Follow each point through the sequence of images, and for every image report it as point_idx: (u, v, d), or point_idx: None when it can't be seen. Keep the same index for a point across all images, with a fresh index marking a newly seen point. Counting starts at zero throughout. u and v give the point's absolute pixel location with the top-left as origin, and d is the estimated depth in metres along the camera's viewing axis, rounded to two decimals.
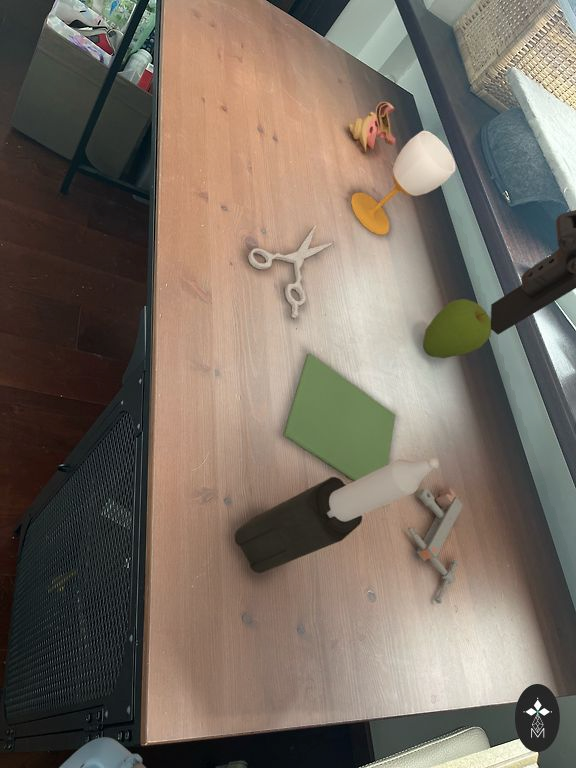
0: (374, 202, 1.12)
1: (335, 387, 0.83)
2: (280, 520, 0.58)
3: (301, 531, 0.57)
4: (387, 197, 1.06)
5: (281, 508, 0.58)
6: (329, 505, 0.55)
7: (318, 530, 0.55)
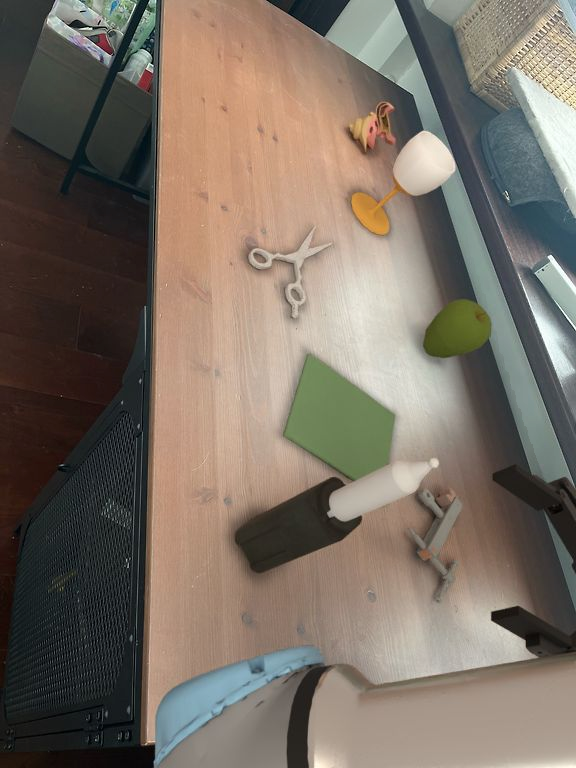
0: (374, 202, 1.12)
1: (335, 387, 0.83)
2: (280, 520, 0.58)
3: (301, 531, 0.57)
4: (387, 197, 1.06)
5: (281, 508, 0.58)
6: (329, 505, 0.55)
7: (318, 530, 0.55)
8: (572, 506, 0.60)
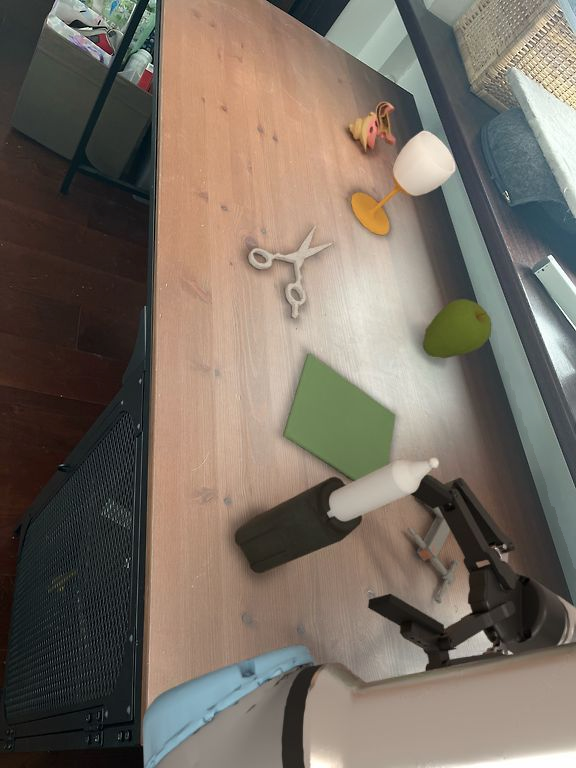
0: (374, 202, 1.12)
1: (335, 387, 0.83)
2: (280, 520, 0.58)
3: (301, 531, 0.57)
4: (387, 197, 1.06)
5: (281, 508, 0.58)
6: (329, 505, 0.55)
7: (318, 530, 0.55)
8: (463, 505, 0.64)
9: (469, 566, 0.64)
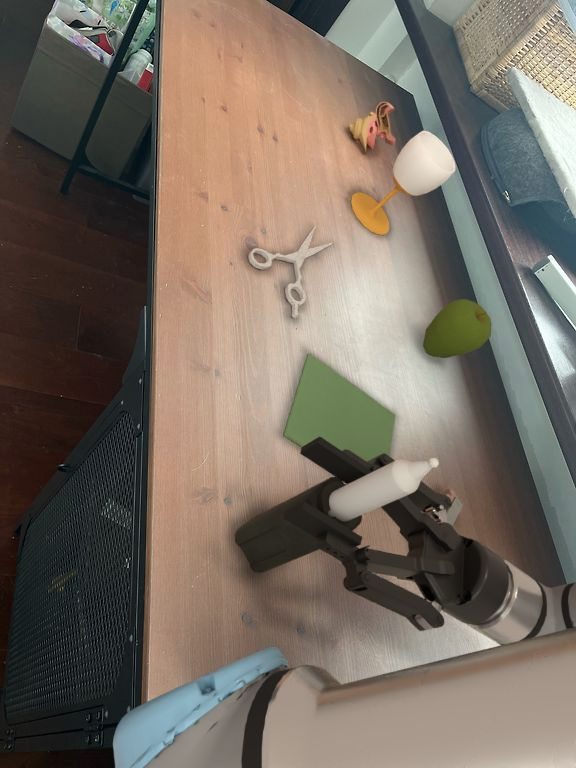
0: (374, 202, 1.12)
1: (335, 387, 0.83)
2: (280, 520, 0.58)
3: (301, 531, 0.57)
4: (387, 197, 1.06)
5: (281, 508, 0.58)
6: (329, 505, 0.55)
7: None
8: None
9: (406, 536, 0.60)
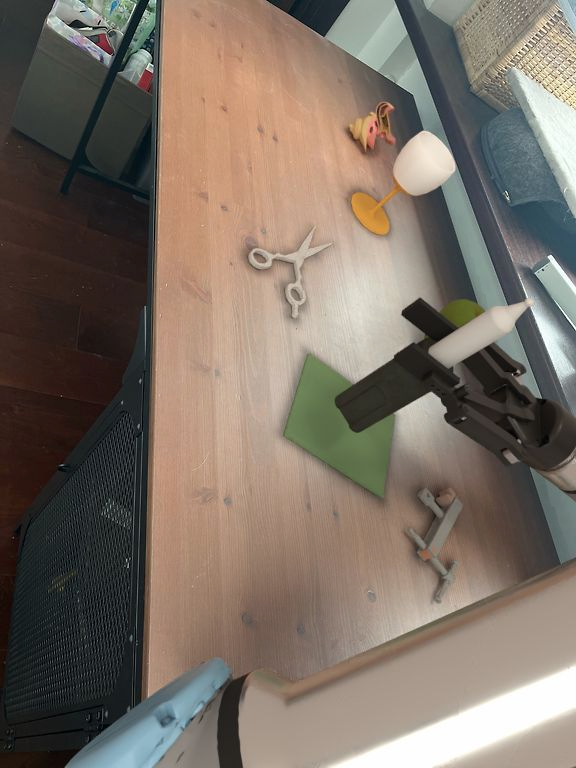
0: (374, 202, 1.12)
1: (335, 387, 0.83)
2: (382, 376, 0.67)
3: (402, 381, 0.65)
4: (387, 197, 1.06)
5: (382, 366, 0.67)
6: None
7: None
8: None
9: (489, 394, 0.69)
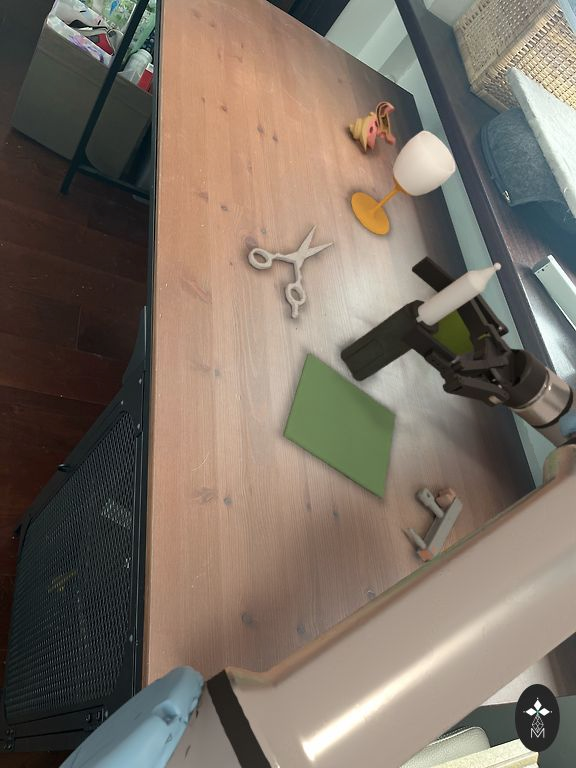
0: (374, 202, 1.12)
1: (335, 387, 0.83)
2: (380, 331, 0.81)
3: (396, 335, 0.80)
4: (387, 197, 1.06)
5: (380, 323, 0.82)
6: (418, 313, 0.79)
7: None
8: None
9: (473, 340, 0.84)
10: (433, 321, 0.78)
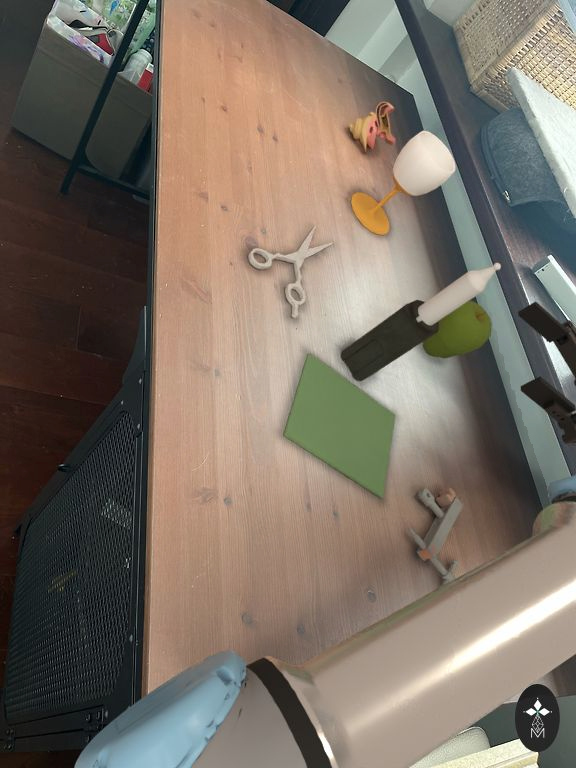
0: (374, 202, 1.12)
1: (335, 387, 0.83)
2: (380, 331, 0.81)
3: (396, 335, 0.80)
4: (387, 197, 1.06)
5: (380, 323, 0.82)
6: (418, 313, 0.79)
7: (410, 330, 0.79)
8: (574, 338, 0.83)
9: None
10: (433, 321, 0.78)
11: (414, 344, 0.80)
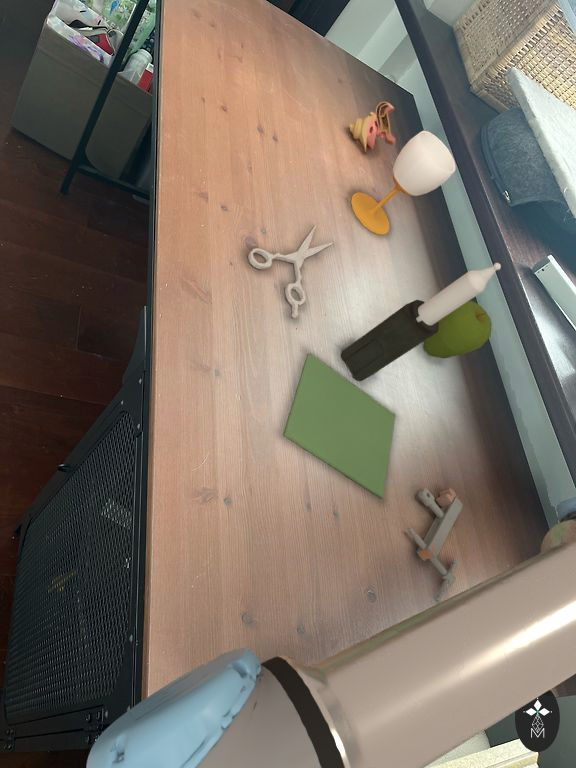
0: (374, 202, 1.12)
1: (335, 387, 0.83)
2: (380, 331, 0.81)
3: (396, 335, 0.80)
4: (387, 197, 1.06)
5: (380, 323, 0.82)
6: (418, 313, 0.79)
7: (410, 330, 0.79)
8: None
9: None
10: (433, 321, 0.78)
11: (414, 344, 0.80)
